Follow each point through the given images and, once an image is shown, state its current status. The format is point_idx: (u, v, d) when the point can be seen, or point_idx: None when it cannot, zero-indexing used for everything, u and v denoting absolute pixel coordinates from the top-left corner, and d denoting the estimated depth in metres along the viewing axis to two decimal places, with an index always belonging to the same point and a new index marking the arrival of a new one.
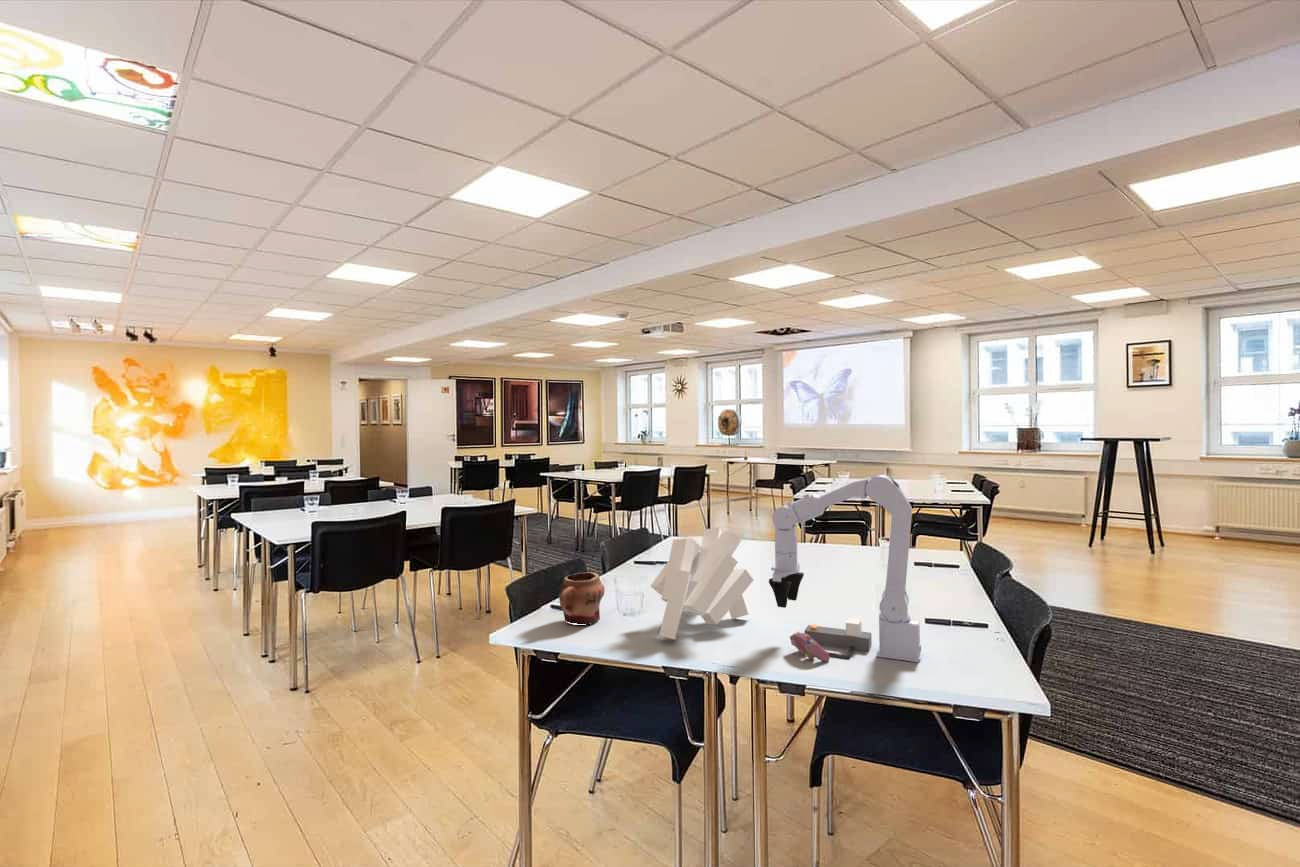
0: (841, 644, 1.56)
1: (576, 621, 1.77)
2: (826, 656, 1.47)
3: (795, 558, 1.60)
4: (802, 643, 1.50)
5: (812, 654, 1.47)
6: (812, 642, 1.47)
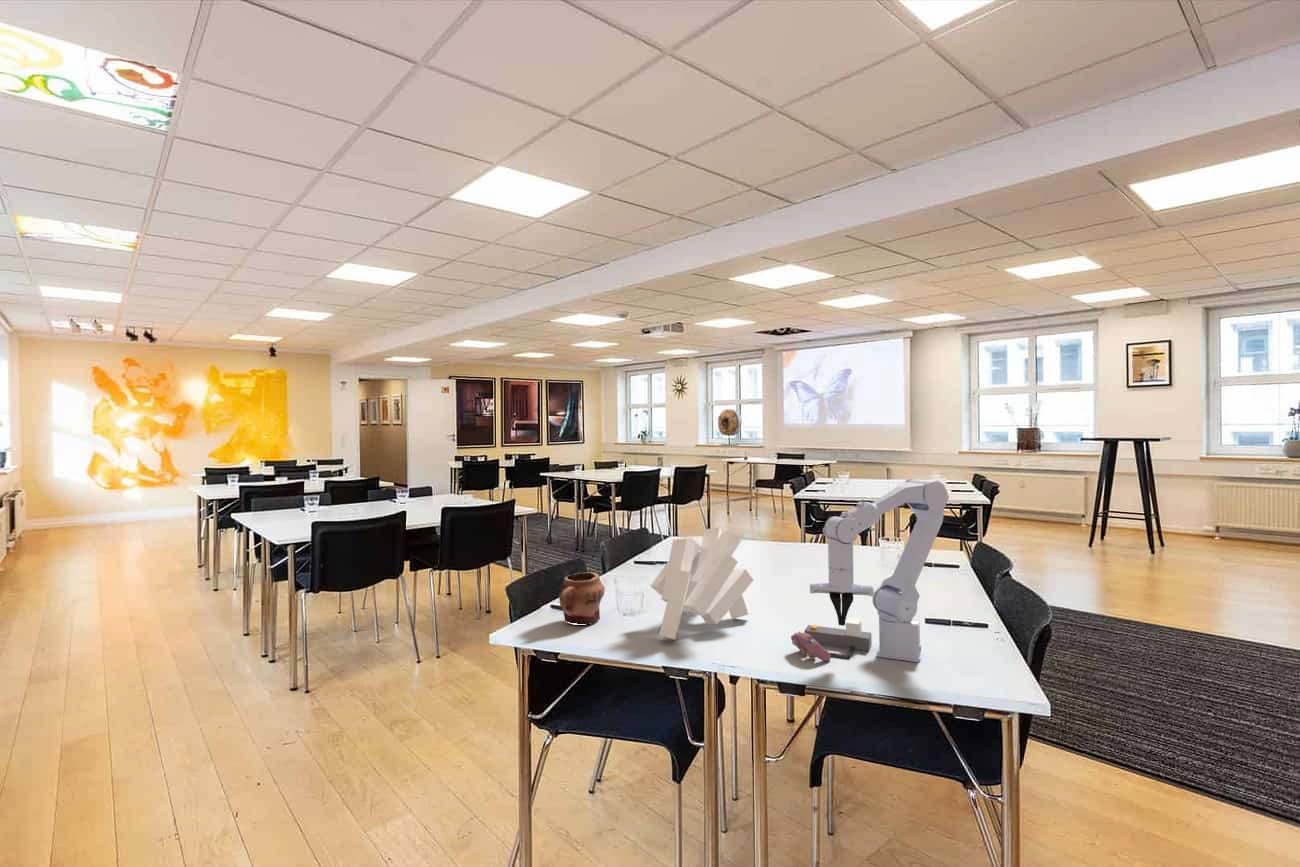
0: (841, 644, 1.56)
1: (576, 621, 1.77)
2: (827, 656, 1.47)
3: (839, 575, 1.45)
4: (803, 643, 1.50)
5: (813, 654, 1.47)
6: (813, 642, 1.47)
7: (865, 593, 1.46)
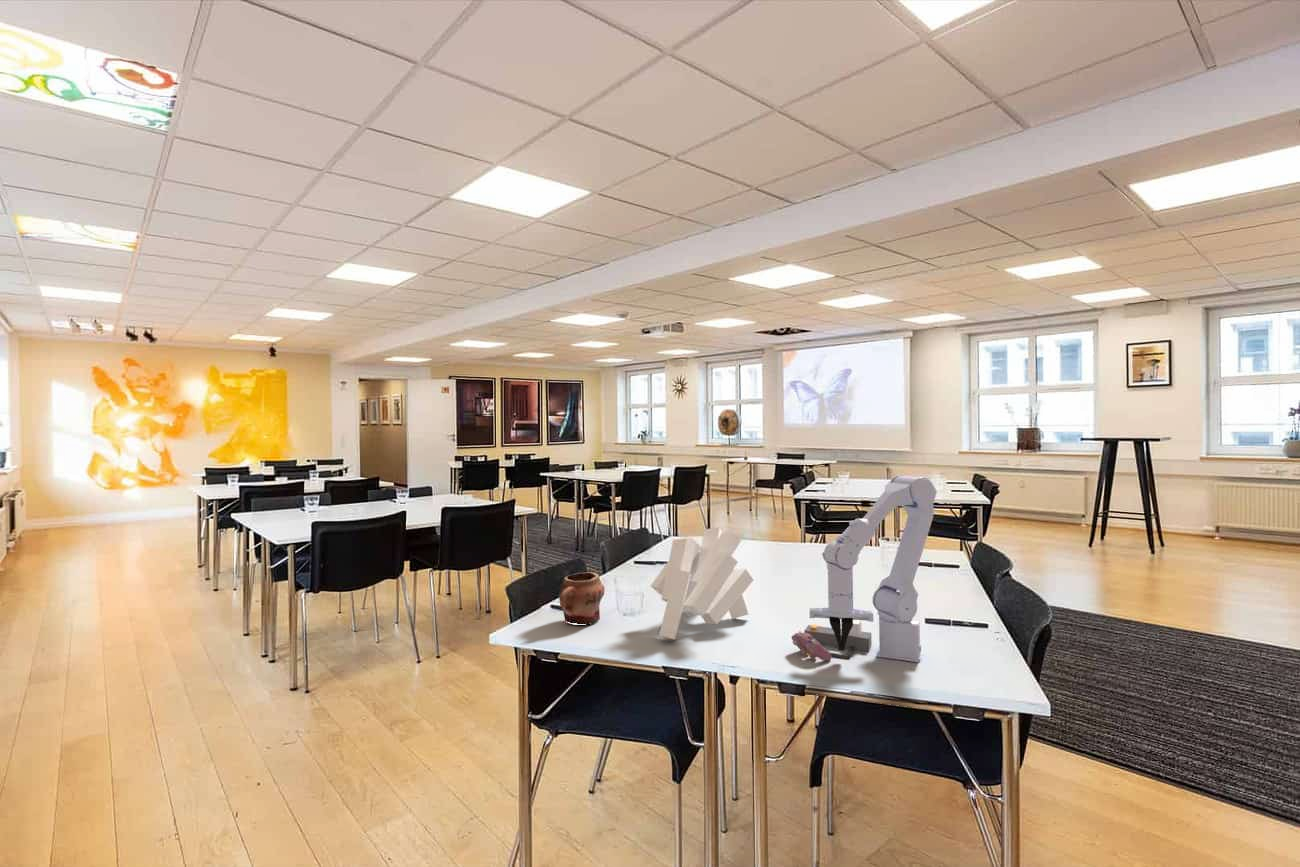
0: None
1: (576, 621, 1.77)
2: (827, 655, 1.47)
3: (838, 601, 1.45)
4: (804, 643, 1.50)
5: (814, 654, 1.47)
6: (814, 642, 1.47)
7: (865, 618, 1.46)
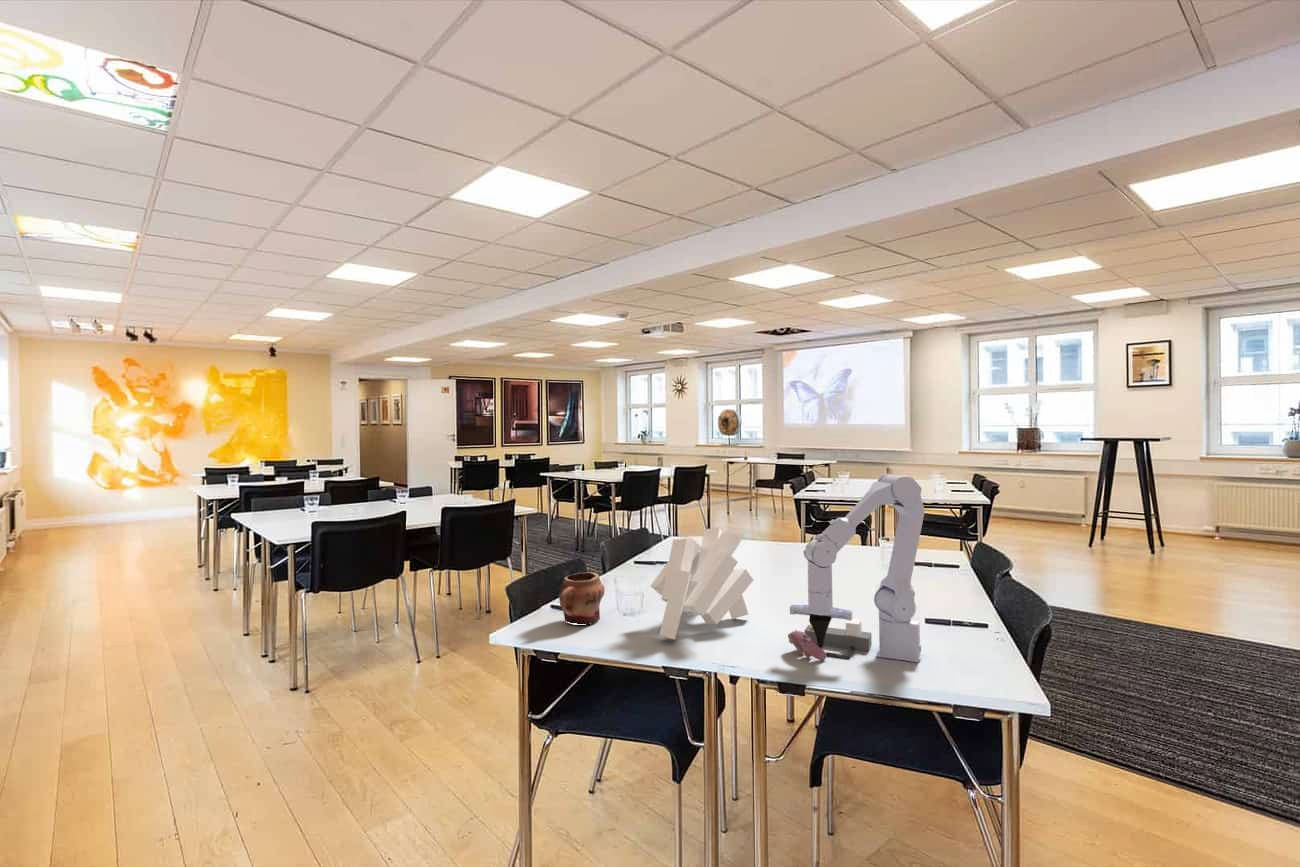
0: (841, 644, 1.56)
1: (576, 621, 1.77)
2: (822, 654, 1.47)
3: (815, 598, 1.47)
4: (799, 641, 1.51)
5: (808, 652, 1.47)
6: (808, 640, 1.48)
7: (843, 617, 1.47)
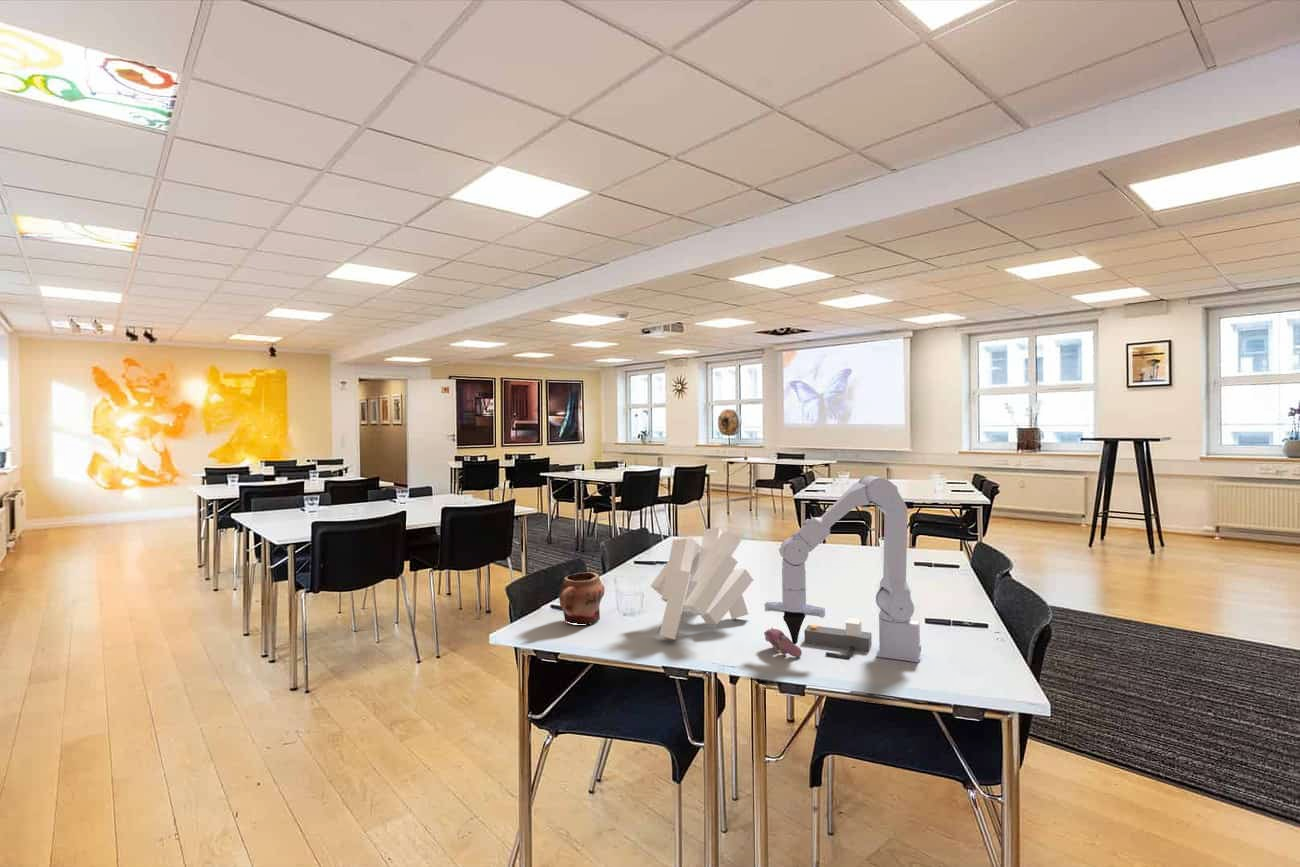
0: (841, 644, 1.56)
1: (576, 621, 1.77)
2: (797, 651, 1.50)
3: (789, 595, 1.50)
4: (775, 639, 1.53)
5: (784, 650, 1.49)
6: (784, 638, 1.50)
7: (816, 614, 1.50)
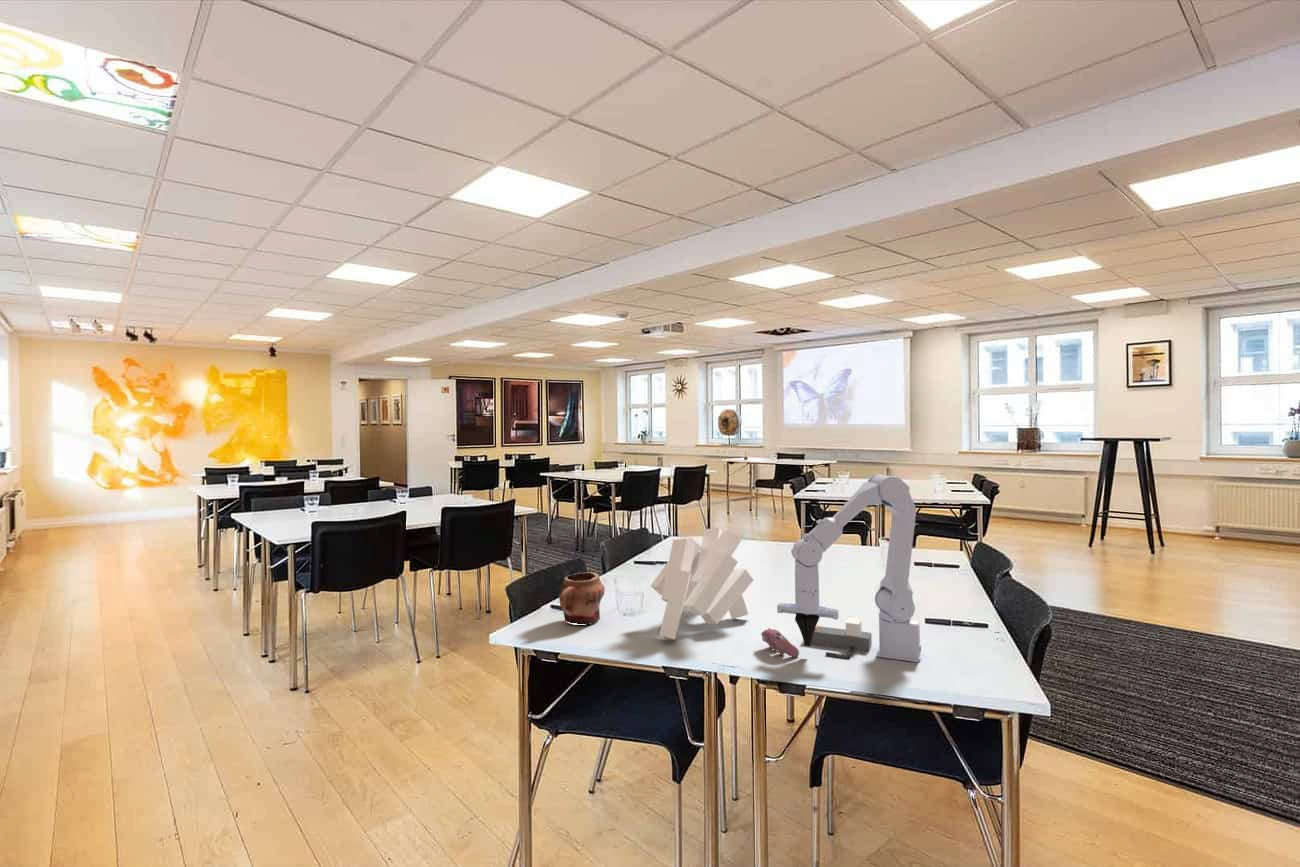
0: (841, 644, 1.56)
1: (576, 621, 1.77)
2: (795, 651, 1.50)
3: (802, 597, 1.49)
4: (772, 639, 1.53)
5: (781, 650, 1.50)
6: (782, 638, 1.50)
7: (830, 616, 1.48)
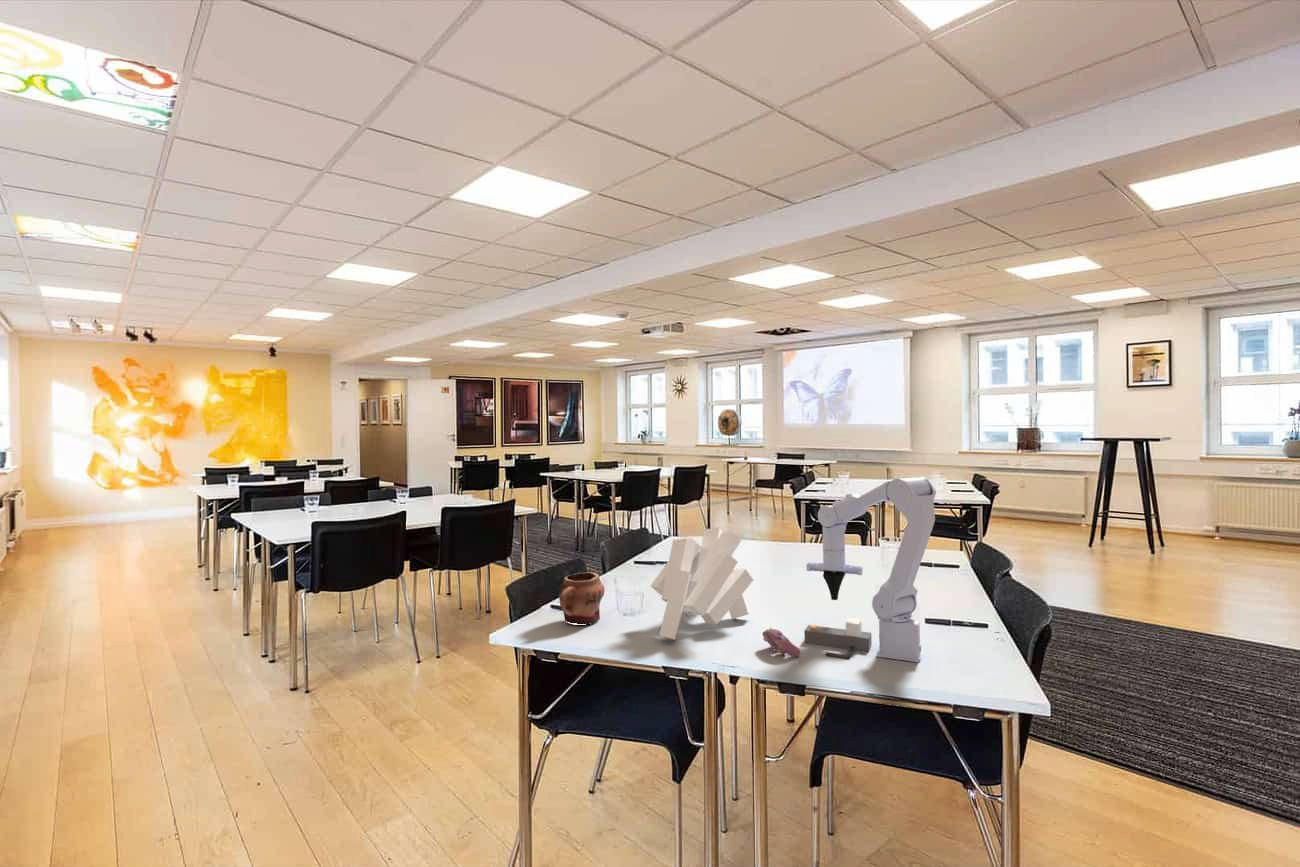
0: (841, 644, 1.56)
1: (576, 621, 1.77)
2: (796, 651, 1.50)
3: (829, 556, 1.65)
4: (774, 639, 1.53)
5: (783, 650, 1.50)
6: (783, 638, 1.50)
7: (855, 572, 1.65)
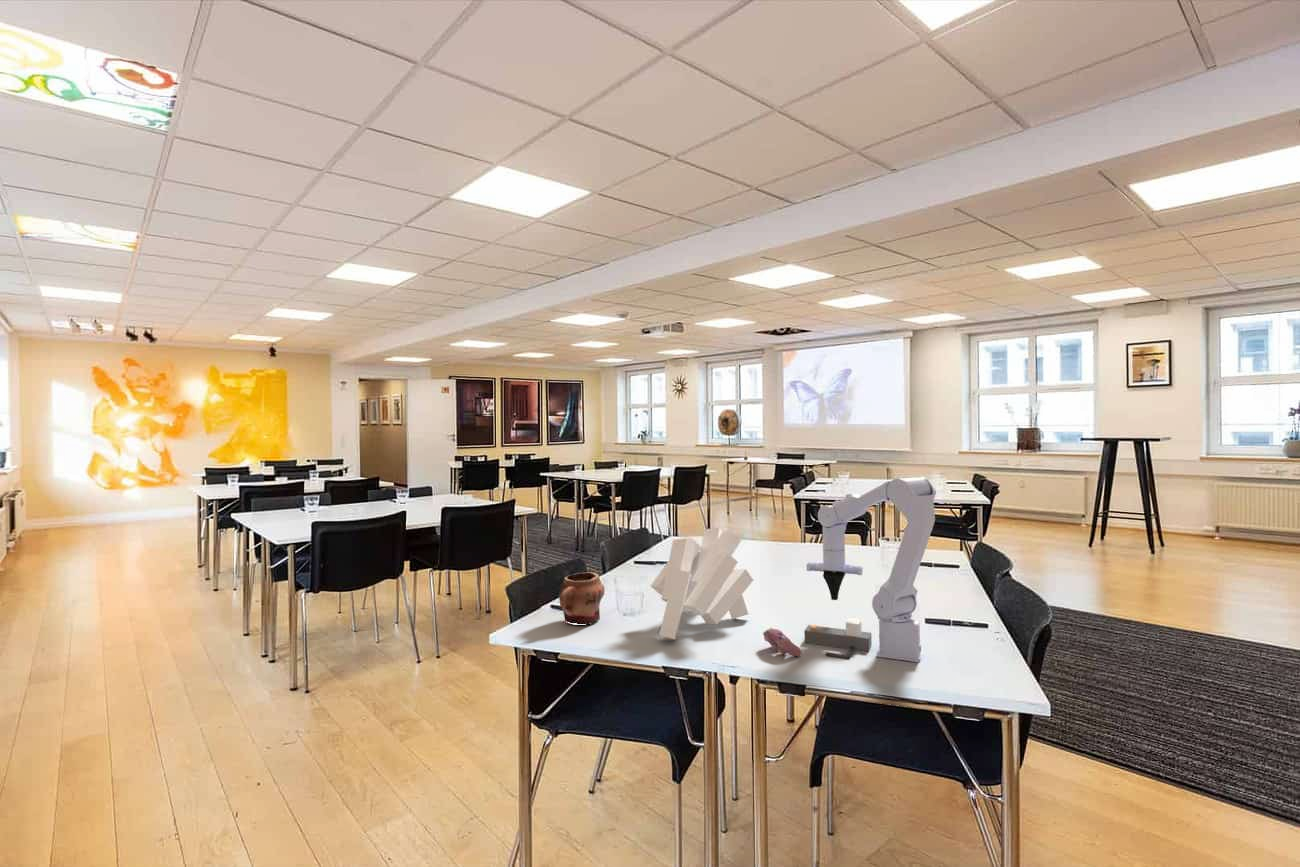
0: (841, 644, 1.56)
1: (576, 621, 1.77)
2: (797, 651, 1.50)
3: (829, 556, 1.65)
4: (774, 639, 1.53)
5: (784, 649, 1.50)
6: (784, 638, 1.50)
7: (855, 572, 1.65)
